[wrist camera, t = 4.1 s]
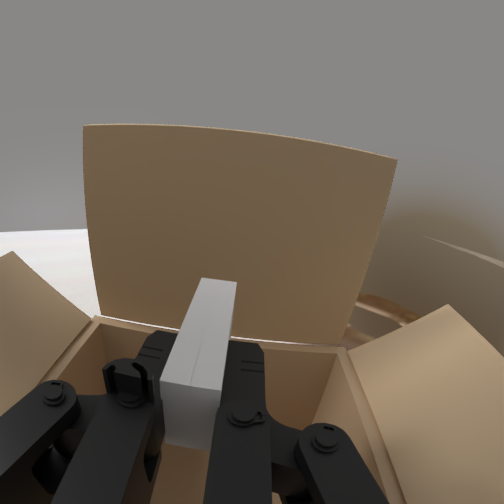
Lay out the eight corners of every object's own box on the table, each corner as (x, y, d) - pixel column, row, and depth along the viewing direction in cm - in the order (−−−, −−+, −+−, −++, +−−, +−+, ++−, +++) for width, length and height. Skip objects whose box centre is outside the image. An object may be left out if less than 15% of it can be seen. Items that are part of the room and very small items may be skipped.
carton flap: (397, 159, 18) (394, 157, 18) (83, 125, 17) (87, 124, 18) (339, 345, 25) (337, 340, 26) (101, 314, 25) (103, 310, 25)
